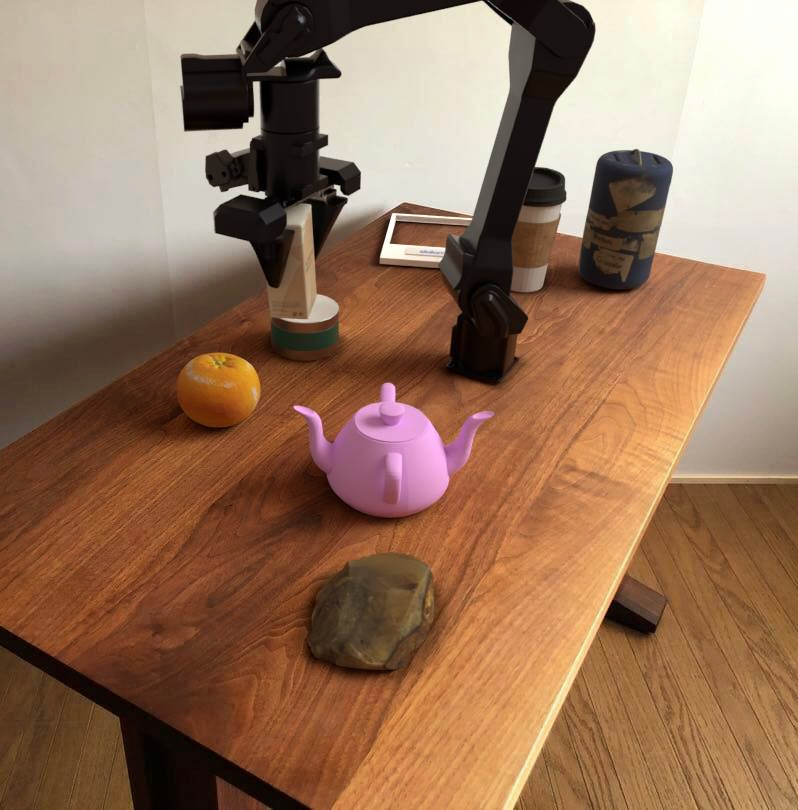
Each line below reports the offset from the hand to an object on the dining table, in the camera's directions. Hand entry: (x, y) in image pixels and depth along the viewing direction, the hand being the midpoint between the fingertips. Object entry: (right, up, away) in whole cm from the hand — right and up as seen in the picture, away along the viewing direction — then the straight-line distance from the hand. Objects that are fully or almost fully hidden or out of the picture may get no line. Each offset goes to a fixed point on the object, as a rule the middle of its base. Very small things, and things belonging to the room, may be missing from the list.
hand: (292, 275), depth 96 cm
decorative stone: (+6, -31, -24) cm, 40 cm away
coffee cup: (+31, +3, +29) cm, 42 cm away
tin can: (+1, -6, +14) cm, 15 cm away
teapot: (+9, -22, -10) cm, 25 cm away
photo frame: (+21, +10, +40) cm, 47 cm away
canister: (+44, +3, +30) cm, 53 cm away
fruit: (-8, -15, +1) cm, 17 cm away
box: (0, -3, +3) cm, 4 cm away
